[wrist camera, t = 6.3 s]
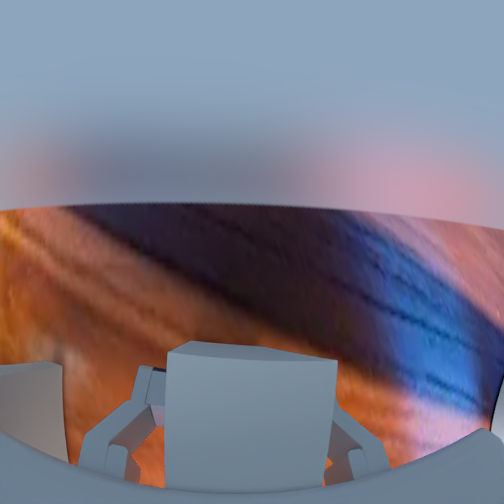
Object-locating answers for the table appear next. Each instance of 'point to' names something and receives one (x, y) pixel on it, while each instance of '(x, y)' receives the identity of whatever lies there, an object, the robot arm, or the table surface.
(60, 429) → the door
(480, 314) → the table surface
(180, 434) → the light grey block
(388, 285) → the table surface
